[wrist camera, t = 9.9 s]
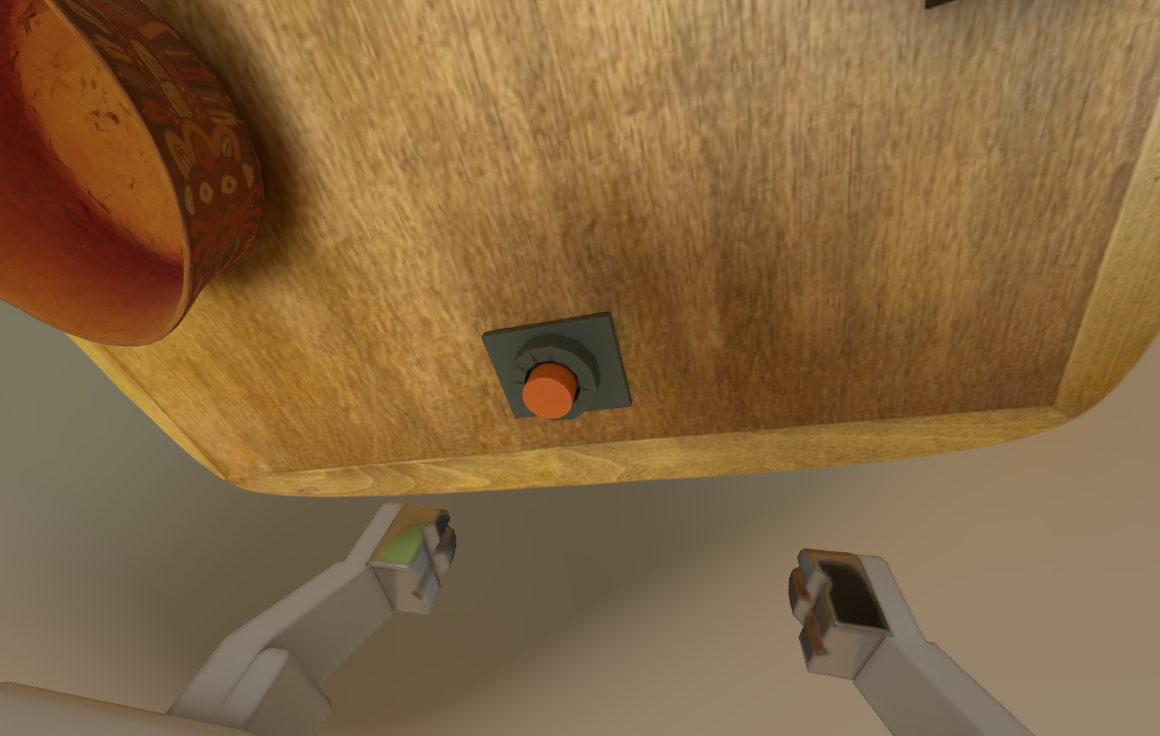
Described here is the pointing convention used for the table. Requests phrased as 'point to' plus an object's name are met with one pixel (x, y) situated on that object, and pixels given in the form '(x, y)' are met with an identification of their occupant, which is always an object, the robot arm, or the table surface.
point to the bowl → (115, 170)
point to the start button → (550, 390)
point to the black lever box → (936, 3)
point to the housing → (562, 361)
